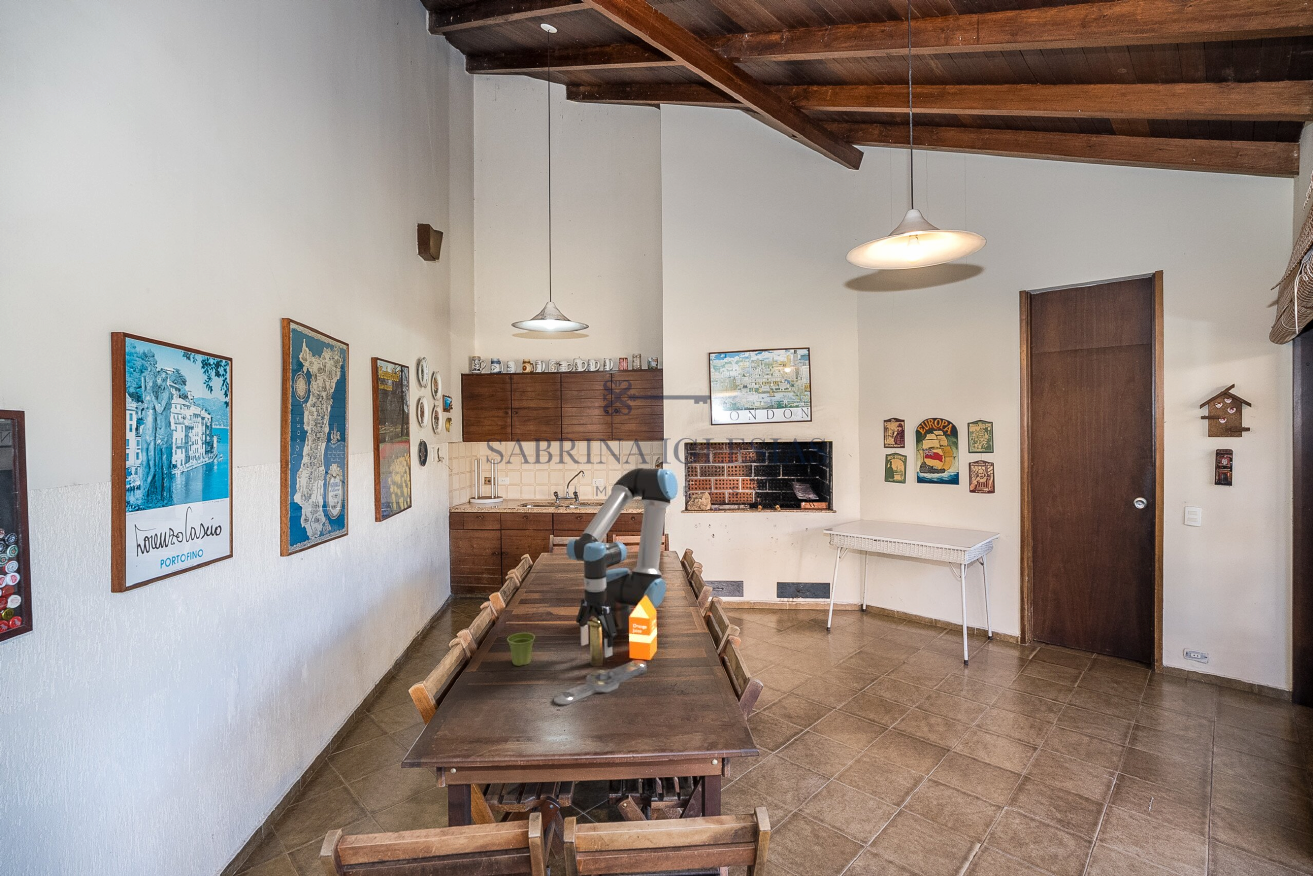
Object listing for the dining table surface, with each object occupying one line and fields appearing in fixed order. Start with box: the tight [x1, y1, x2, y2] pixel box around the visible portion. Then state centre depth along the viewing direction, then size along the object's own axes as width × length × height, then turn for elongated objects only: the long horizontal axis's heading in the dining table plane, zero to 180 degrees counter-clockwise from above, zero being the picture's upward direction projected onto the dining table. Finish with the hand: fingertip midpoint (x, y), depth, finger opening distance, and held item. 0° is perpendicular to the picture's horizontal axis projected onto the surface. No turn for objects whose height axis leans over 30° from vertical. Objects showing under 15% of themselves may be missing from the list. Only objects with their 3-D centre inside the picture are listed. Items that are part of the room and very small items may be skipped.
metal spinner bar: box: [553, 659, 647, 706], centre depth 186 cm, size 35×10×2 cm, turn 133°
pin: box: [587, 617, 603, 667], centre depth 202 cm, size 5×5×15 cm
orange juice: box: [628, 596, 658, 661], centre depth 209 cm, size 8×9×20 cm
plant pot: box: [506, 632, 536, 667], centre depth 204 cm, size 9×9×9 cm
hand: (596, 650), depth 202 cm, fingers open, 13 cm apart
